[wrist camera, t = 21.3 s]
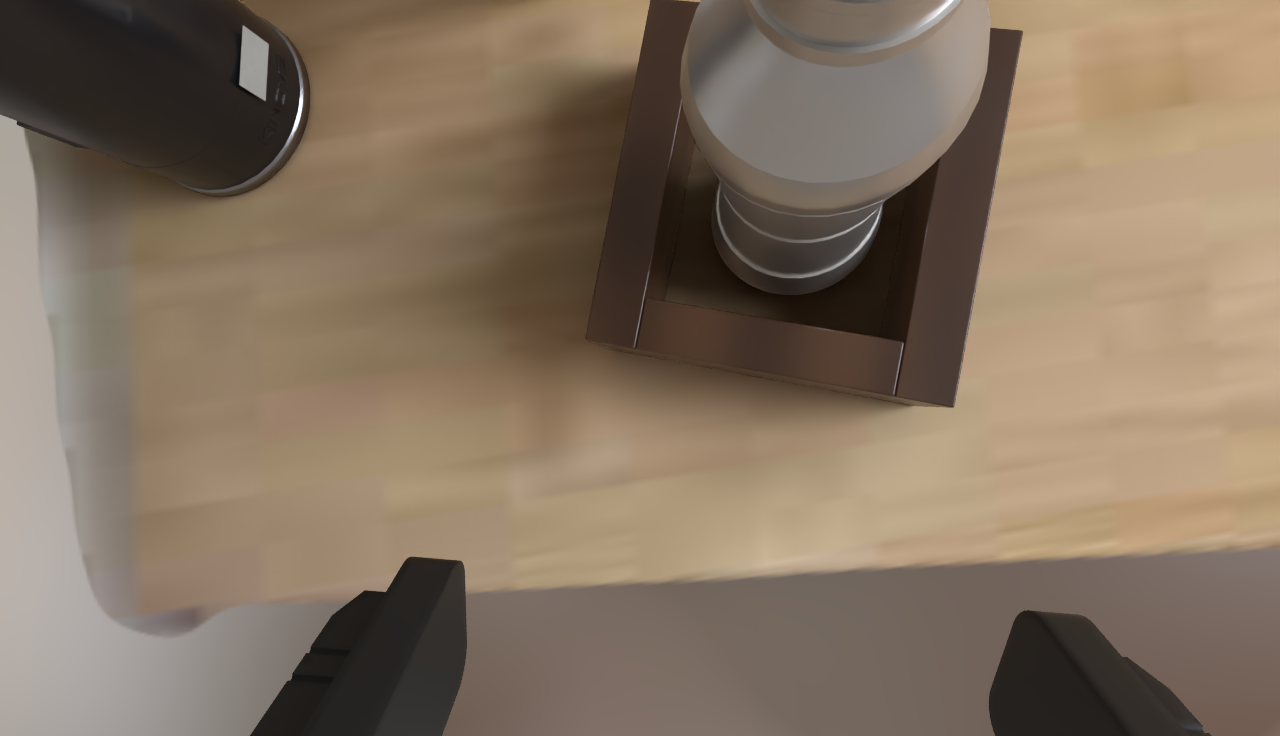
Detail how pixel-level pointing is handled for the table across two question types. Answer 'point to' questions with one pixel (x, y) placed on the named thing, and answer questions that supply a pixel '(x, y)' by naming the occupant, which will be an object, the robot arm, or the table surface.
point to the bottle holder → (801, 354)
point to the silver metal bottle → (823, 121)
